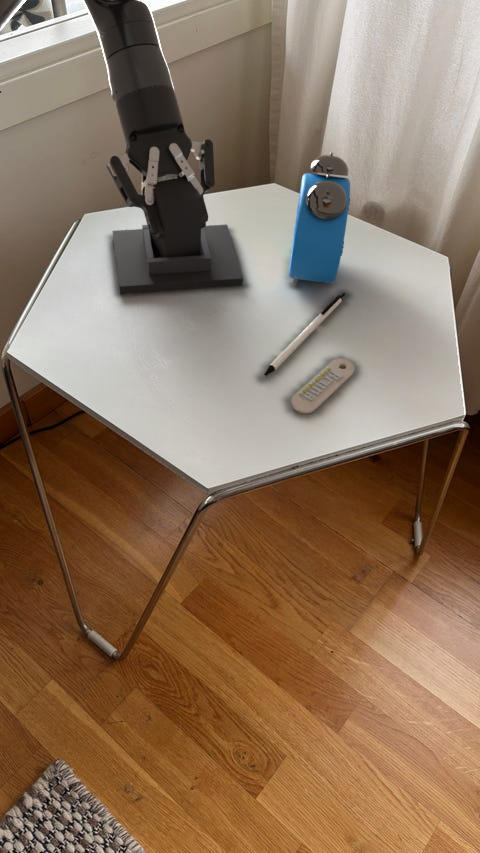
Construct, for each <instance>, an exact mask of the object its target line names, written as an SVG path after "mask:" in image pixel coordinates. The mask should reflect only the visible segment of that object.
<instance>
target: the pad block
mask: <svg viewBox="0 0 480 853" xmlns="http://www.w3.org/2000/svg"><path fill="white" fill-rule="evenodd" d="M153 192H154V195H155V201H154V204H155V205H157V207H158V211H159V214H160V218H161V222H162V225H163V229H164V233H165V234H164V236H163V237H161V238H156V237H155V234H151V242H152V245H153V247H154V248H155V250H156V251H157V253H158V255H159V256H160V258H168V257H184V256H200V250H201V213H202V197H201V195H200V194H199V193H198V191H197V190H196V189H195V187H194V186H193V185H192V183H191V182H190V181H187V180H185V179H184V178H182V177H180V178H171V179H169V178H168V179H165V180H164V179H163V180H160V181H157V184H156V188H153Z"/></svg>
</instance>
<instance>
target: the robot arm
mask: <svg viewBox="0 0 480 853" xmlns="http://www.w3.org/2000/svg"><path fill="white" fill-rule="evenodd" d="M26 1H27V0H0V31H2V29H3V28H4V27H5V26H6V24H7V23H8V22H9V21H10V19H12V17H13V16H14V15H15V14H16V13H17V12H18V10H19V9H20V8H21V7H22V5H23V4H25V2H26ZM81 1H82V2H83V4H84V7H85V8H86V10H87V12H88V15H89V16H90V19H91V21H92V23H93V25H94V28H95V30H96V34H97V36H98V40H99V43H100V46H101V50H102V53H103V57H104V61H105V65H106V70H107V76H108V82H109V87H110V90H111V96H112V98H111V99H112V101H113V103H114V105H115V108H116V112H117V115H118V119H119V123H120V127H121V130H122V133H123V137H124V141H125V143H126V149H125V153H122V154H121V155H119V156H117V155H113V156H111V157H110V158H109V161H108V162H107V163H106V168H107V170H108V172H109V174H110V176H111V178H112V180H113V181H114V184H115V186H116V187H117V190H118V191H119V193H120V195H121V198H122V199H123V201H124V203H125V204H126V206H127V207H128V208H140V209H141V210H142V211H143V214H144V218H145V220H146V225H148V229H149V232H150V233H151V234H155V237H156V238H161V237H163V236H164V234H165V233H164V229H163V225H162V222H161V218H160V214H159V211H158V207H157V205H155V204H154V201H155V195H154V192H153V188H156V184H157V182H159V181H162V180H164V179H168V180H169V179H175V178H180V177H182V178H184V179H185V180H187V181H190V182H191V183H192V185H193V186H194V187H195V189H196V190H197V191H198V193H199V194H200V195H201V197H202V213H201V229H202V228H204V227H205V226H207V222H208V221H209V213H208V209H207V206H206V202H205V198H204V195H205V194H206V193H207V192H209V191H210V189H212V188H213V187H215V185H216V181H215V180H216V179H215V177H216V176H215V160H214V158H215V157H214V143H213V141H212V140H211V139H209V138H208V139H205V140H204V141H196V140H192V139H191V137H189V136H188V134H187V133H186V130H185V126H184V120H183V117H182V114H181V110H180V106H179V102H178V99H177V95H176V91H175V88H174V84H173V80H172V76H171V73H170V69H169V66H168V63H167V61H166V58H165V56H164V54H163V50H162V46H161V43H160V38H159V34H158V30H157V28H156V24H155V20H154V17H153V13H152V11H151V7H150V6H149V5H148V4H147V3H146V2H145V1H144V0H81ZM191 152H192V153H193V155H194V158H195V159H196V160H197V161H198V172H199V180H198V178H197V177H196V175H195V174H196V173H195V171H194V170H193V168H192V167H191V165H190V164H189V162H188V159H189V157H190V154H191ZM129 164H130V165H132V166H133V167H134V168H135V169H136V170H137V171H138V172H139V173H140V174H141V184H140V189H141V193H140V194H139V193H138V191H137V189H136V187H135V186H134V184H133V181H132V179H131V178H130V176H129V174H128V172H129V170H130V167H129Z"/></svg>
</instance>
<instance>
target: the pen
mask: <svg viewBox="0 0 480 853" xmlns="http://www.w3.org/2000/svg"><path fill="white" fill-rule="evenodd" d="M345 296H346V292H343V293H342V294H338V295H336V297H335V298H334V299H333V300H332V301H330V303H329V304H327V306H326V307H325V308H324V309H323V310H322V311H321V312H320V313H319V314H318V315H317V316H316V317H315V318H314V319H313V320H312V321H311V322H310V323H309V324H308V326H306V327H305V329H303V331H301V332H300V334H299V335H298V336H297V337H295V339H294V340H292V342H291V343H290V344H289V345H287V346H286V348H285V349H284V350H283V351H282V352H281V353H280V354H279V355H278V356H277V357H276V358H275V359H274V360H273V361H272V362H271V363H270V364H269V365H268V367H267V368H266V370H265V372H264V374H263V377H264V378H265V377H267V376H268V375H270V374H272V373H273V372H275V371H276V370H277V369H278V368H279V367H280V366H281V365H282V364H283V363H284V362H285V361H286V360H287V359H288V358H289V357H290V356H291V354H293V352H295V351H296V350H297V349H298V347H299V346H300V345H302V343H303V342H305V340H306V339H307V338H308V337H309V336H310V335H311V334H312V333H313V332H314V331H315V330H316V329H317V327H319V326H320V325H321V323H323V322H324V320H326V318H327V317H328V316H330V314H331V313H332V312H333V311H334V310H335V309H336V308H338V306H339V305H340V304H341V303H342V302H343V298H344V297H345Z"/></svg>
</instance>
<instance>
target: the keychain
mask: <svg viewBox="0 0 480 853" xmlns="http://www.w3.org/2000/svg"><path fill="white" fill-rule="evenodd" d="M341 367H344V369H343V368H341ZM354 373H355V365H354V364H353V362H352V361H350V360H348V359H346V358H341V357H340V358H339V357H338V358H334V359H333V360H331V361H330V362H329V363H328V364H327V365H325V367H323V368H322V369H321V370H320V371H319V372H318V373H317V374H316V375H314V376H313V377H312V378H311V379H310V380H309V381H308V382H307V383H305V384H304V385H303V386H302V387H301V388H300V389H299V390H298V391H297V392H296V393H295V394H293V395H292V397H291V401H290V403H291V407H292V409H293V410H295V411H296V412H298V413H301V414H311V413H314V412H315V411H316V410H317V409H318V408H319V407H320V406H321V405H322V404H323V403H324V402H326V401H327V400H328V399H329V398H330V397H331V396H332V395H333V394H334V393H335V392H336V391H337V390H338V389H339V388H340V387H342V385H343V384H345V382H347V381H348V380H349V379H350V378H351V377H352V376H353V374H354Z"/></svg>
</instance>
